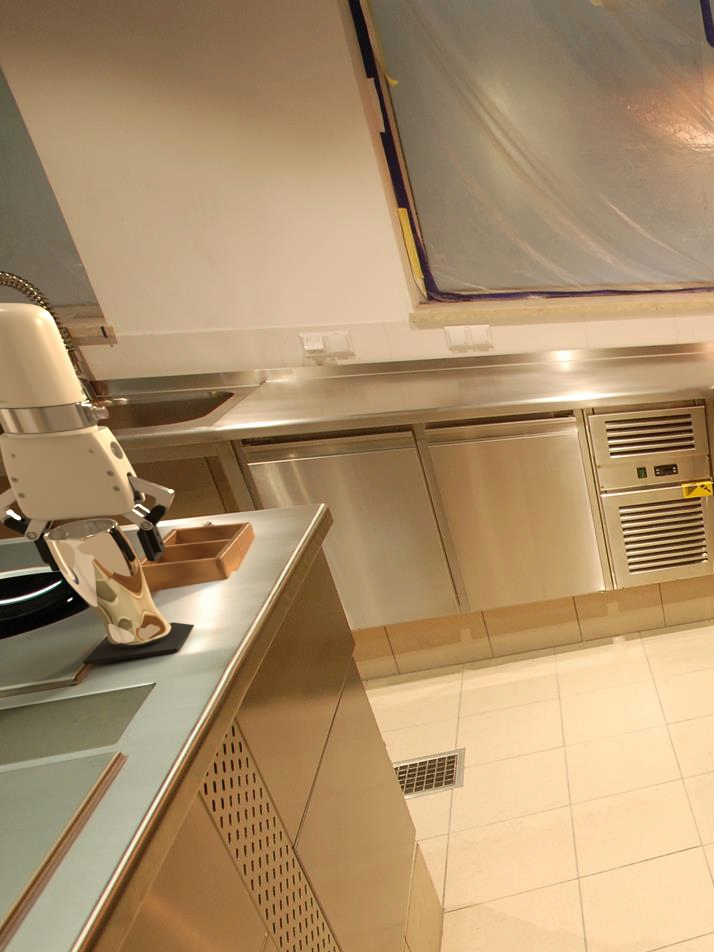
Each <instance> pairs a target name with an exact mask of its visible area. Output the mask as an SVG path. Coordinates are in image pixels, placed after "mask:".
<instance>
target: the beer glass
mask: <svg viewBox="0 0 714 952" xmlns="http://www.w3.org/2000/svg"><path fill="white" fill-rule="evenodd" d="M43 538H44V540H45V541H46V544H47V546H48V548H49V550H50V552H51V554H52V556H53V558H54V560H55V562H56V564H57V566H58V568H59V570H60V571H59V572H61V574H62V576H63V578H64V579H65V580H66V582H67V583H68V584H69V585H70V586H71V588H72V589H73V590H74V591H75V592H76V594H77V595H78V596H79V597H80V598H81V599H82V600H83V601H84V602H85V603H86V604H87V605H88V606H89V607H90V609H91V610H92V611H93V612H94V613H95V615H96V616H97V617H98V619H99V620H100V622H101V623H102V626H103V627H104V631H105V633H106V636H107V637H108V641H109V643H110V645H111V646H112V647H114V648H119V649H128V648H136V647H140V646H144V645H148V644H151V643H154V642H156V641H158V640H161V639H162V638H164V637H166V636H167V635H168V634H169V633H170V632H171V631H172V627H171V625H170V624H169V623H170V622H169V621H168V620H167V619H166V618H165V617H164V615H162V613H161V612H160V611H159V609H158V608H157V606H156V605H155V602H154V600H153V597H152V594H151V592H150V591H149V587H148V583H147V580H146V576H145V573H144V570H143V567H142V565H141V562H140V558H139V556H138V554H137V552H136V550H135V548H134V546H133V545H132V543H131V541H130V540H129V538H128V537H127V536H126V534H125V532H124V531H123V529H122V528H121V526H119V524H118V522H117V520H115V519H113V518H90V519H89V518H88V519H83V520H76V521H73V522H69V523H66V524H62V525H59V526H57V527H54V528H51V529H50V531H48V532H46V533H45V534H44V535H43Z"/></svg>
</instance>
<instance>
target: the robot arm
mask: <svg viewBox="0 0 714 952" xmlns="http://www.w3.org/2000/svg"><path fill="white" fill-rule="evenodd" d="M109 417H110V414H109V411H108V409H107V408H106V407H105V406H96V405H93V404H92V403H91V402H90V400H89V399H87V397H86V396H85V392H84V391H83V387H82V385H81V382H80V380H79V378H78V376H77V374H76V371H75V368H74V365H73V363H72V361H71V358H70V355H69V353H68V351H67V347H66V346H65V344H64V340H63V338H62V336H61V332H60V330H59V329H58V326H57V323H56V322H55V319H54V318H53V316H52V315H51V314H50V312H49V311H48V310H46V309H45V308H44V307H43V306H40V305H37V304H32V303H24V302H23V303H22V302H0V425H1V427H2V429H3V431H4V433H1V434H0V451H1V456H2V461H3V466H4V468H5V473H6V476H7V479H8V482H9V485H10V488H8V489H7V490H5V491H4V492H3V493H1V494H0V522H1V523H3V525H4V526H5V527H6V528H8V529H9V530H12V531H14V532H16V533H19V534H21V535H23V536H24V537H25V538H26V539H27V540H29V541H33V542H34V545H35V547H36V550H37V551H38V553H39V556H40V558H41V560H42V562H43V563H44V564H46V565H49V568H50V570H51V571H52V572H54V573H55V572H56V573H57V572H61V571H60V570H59V568H58V566H57V564H56V562H55V560H54V558H53V556H52V554H51V552H50V550H49V548H48V546H47V544H46V541H45V540H44V538H43V535H44V534H45V533H46V532H48V531H50V530H51V529H52V528H51V527H52V526H53V523H54V521H63V520H75V519H86V518H87V519H89V518H100V517H111V516H119V515H121V516H122V517H124V518H125V519H127V520H128V521H130V522H131V523H132V524H134V525H135V526H137V527H138V531H136V536H137V538H138V541H139V543H140V546H141V549H142V550H143V553H144V555H145V556H146V558H147V560H148V561H150V562H154V561H157V560H158V559H159V558H160V557H161V556H162V555H163V552H164V551H165V545H164V543H163V540H162V538H163V537H162V536H161V533H160V530H159V528H158V524H159V523H160V521H161V520H162V519H163V518H164V517H165V515H166V514H167V513H168V511H169V510H170V507H171V505H172V502H173V500H174V498H175V495H176V492H175V491H174V490H173V489H171V488H169V487H166V486H164V485H159V484H157V483H154V482H150V481H149V480H146V479H143V478H141V477H140V478H139V477H138V476H137V474H136V472H135V470H134V468H133V466H132V465H131V463H130V461H129V459H128V457H127V455H126V453H125V451H124V450H123V448H122V447H121V445H120V443H119V442H118V441H117V439H116V437H115V436H114V434H113V433H112V431H111V430H110V428H109V427H108V426H105V425H104V426H103V425H98V423H99V421H101V420H103V419H104V420H105V419H109ZM145 495H148V496H150V497H153V498H154V499H155V502H154V505H153V507H152V508H151V509H150V510H149V509H148V508H146V507H144V506H143V505H141V504H142V503H145V501H146V496H145ZM15 502H17V505H18V507H19V509H20V510H21V513H22V514H23V515H24V516H25V517H24V516H21V515H19V514H16V513H15V512H14V511H13V510H12V509H10V506H11V505H12V504H14V503H15Z"/></svg>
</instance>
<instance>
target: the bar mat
mask: <svg viewBox="0 0 714 952" xmlns="http://www.w3.org/2000/svg"><path fill="white" fill-rule="evenodd" d="M168 623H169V624H170V625H171V627H172V631H171V632H170V633H169V634H168V635H167V636H166V637H164V638H162V639H161V640H158V641H156V642H154V643H151V644H148V645H144V646H140V647H136V648H128V649H119V648H114V647H112V646H111V645H110V643H109V641H108V637H107V635H106V636H105V637H104V638H103V639H102V640H101V641H100V642H99V643H98V645H97V646H95V648H94V649H93V650H91V652H90V653H89V654H88V655H87V656H86V657H85V658H84V659H83V660H82V663H83V665H84V666H85V665H86V666H87V665H93V664H100V663H108V662H115V661H122V660H128V659H136V658H142V657H143V658H144V657H150V656H151V657H152V656H156V655H165V654H170V653H171V654H172V653H178V652H179V651H181V649H182V647H183V646H184V645H185V643H186V641H187V639H188V637H189V636H190V634H191V632H192V631H193V629H194V626H195V624H191V623H190V624H189V623H181V622H174V621H173V622H168Z"/></svg>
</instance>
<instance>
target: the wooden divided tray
mask: <svg viewBox="0 0 714 952" xmlns="http://www.w3.org/2000/svg"><path fill="white" fill-rule="evenodd" d="M255 537H256V534H255V531H254V527H253V525H252V523H251V521H246V522H236V523H235V522H234V523H225V524H215V525H205V526H192V527H181V528H172V529H171V530H170V531H168V532H167V533H166V534H165V535H164V536H163V537H161V538H162V540H163V543H164V545H165V551H164V552H163V555H162V556H161V557H160V558H159V559H158V560H157V561H154V562H150V561H148V560H147V558H146V556H145V554H143V556H142V557H141V558H139V560H140V562H141V565H142V567H143V570H144V573H145V576H146V580H147V583H148V587H149V591H150V593H152V592H158V591H165V590H169V589H176V588H182V587H187V586H194V585H200V584H205V583H212V582H218V581H224V580H228V579H229V578H230V576H231V574H232V572H233V573H234V572H238V570H237V569H239V568H240V567H241V564H242V562H243V560H244V558H245V557H246V554H247V552H248V551H249V549H250V547H251V545H252V543H253V541H254V539H255Z"/></svg>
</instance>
